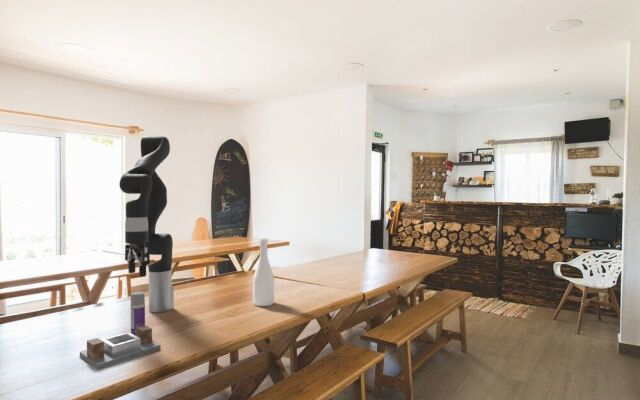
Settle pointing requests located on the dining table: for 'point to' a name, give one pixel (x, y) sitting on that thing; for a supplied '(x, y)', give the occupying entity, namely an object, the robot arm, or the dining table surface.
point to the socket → (121, 343)
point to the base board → (119, 355)
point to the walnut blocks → (97, 346)
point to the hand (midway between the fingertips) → (137, 274)
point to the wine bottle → (263, 279)
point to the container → (137, 311)
